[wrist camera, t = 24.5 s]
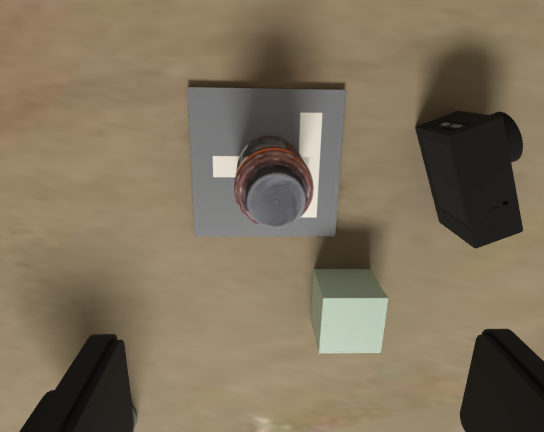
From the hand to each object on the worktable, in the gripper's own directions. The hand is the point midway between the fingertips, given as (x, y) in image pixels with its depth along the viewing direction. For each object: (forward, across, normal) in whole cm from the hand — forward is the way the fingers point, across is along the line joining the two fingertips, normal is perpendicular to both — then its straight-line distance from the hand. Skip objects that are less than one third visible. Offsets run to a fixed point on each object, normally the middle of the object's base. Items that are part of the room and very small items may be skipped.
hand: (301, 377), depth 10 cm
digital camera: (+29, -18, 0) cm, 34 cm away
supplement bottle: (+28, 0, 0) cm, 28 cm away
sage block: (+28, -8, +14) cm, 33 cm away
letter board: (+28, 0, 0) cm, 28 cm away
